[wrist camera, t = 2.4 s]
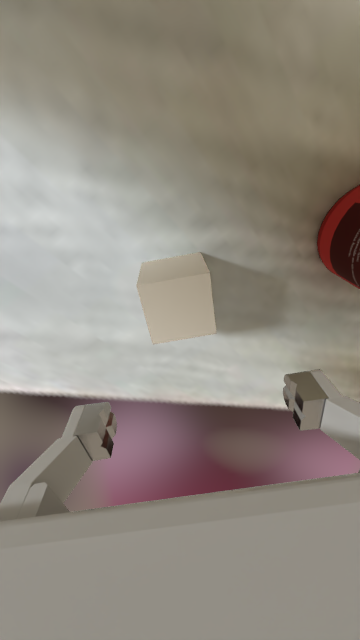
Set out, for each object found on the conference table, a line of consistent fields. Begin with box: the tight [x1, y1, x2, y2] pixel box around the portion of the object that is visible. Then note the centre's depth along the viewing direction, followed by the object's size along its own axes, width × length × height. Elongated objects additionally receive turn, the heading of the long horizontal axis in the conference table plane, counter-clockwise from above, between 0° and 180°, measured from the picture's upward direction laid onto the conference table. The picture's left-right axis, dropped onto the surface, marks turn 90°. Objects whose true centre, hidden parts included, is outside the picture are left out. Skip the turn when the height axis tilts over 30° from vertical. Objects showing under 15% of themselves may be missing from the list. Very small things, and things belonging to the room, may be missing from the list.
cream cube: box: [136, 252, 216, 344], centre depth 20 cm, size 5×5×5 cm
